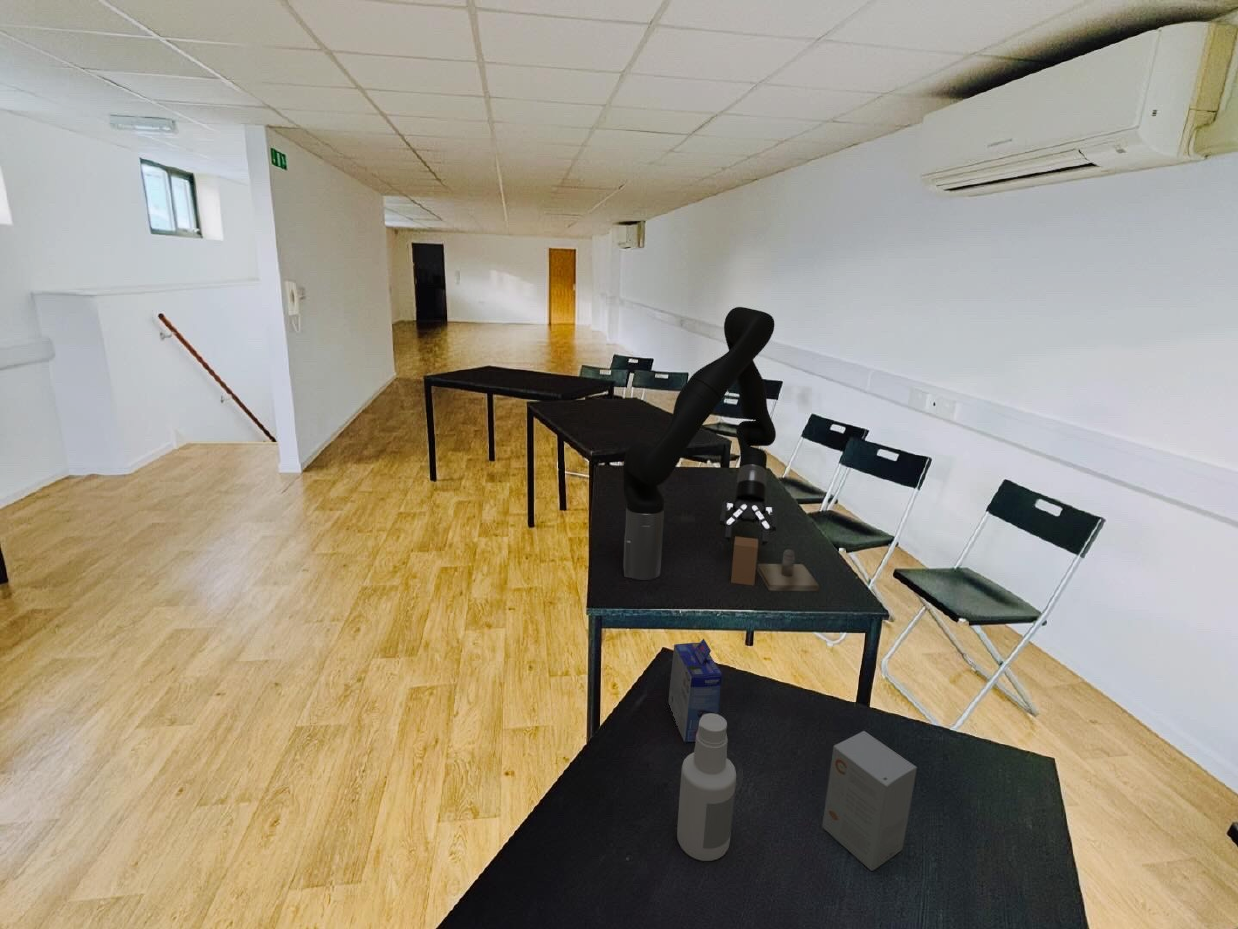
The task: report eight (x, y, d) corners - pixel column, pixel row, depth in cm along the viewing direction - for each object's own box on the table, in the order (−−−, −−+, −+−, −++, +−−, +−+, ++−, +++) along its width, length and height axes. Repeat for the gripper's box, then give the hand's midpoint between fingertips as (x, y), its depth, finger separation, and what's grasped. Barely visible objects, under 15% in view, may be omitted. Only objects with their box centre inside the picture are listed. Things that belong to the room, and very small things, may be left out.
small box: (903, 851, 82) (919, 767, 78) (871, 873, 78) (887, 786, 75) (851, 808, 88) (864, 729, 85) (820, 827, 85) (832, 745, 81)
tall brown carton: (730, 582, 155) (734, 544, 153) (732, 573, 161) (735, 536, 158) (754, 585, 154) (757, 547, 152) (754, 575, 160) (758, 539, 157)
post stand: (769, 590, 152) (772, 559, 150) (756, 569, 164) (759, 540, 161) (818, 591, 153) (822, 560, 150) (802, 569, 164) (805, 540, 162)
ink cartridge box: (718, 741, 100) (725, 661, 97) (684, 745, 99) (690, 664, 95) (697, 702, 110) (703, 628, 106) (667, 706, 109) (672, 630, 105)
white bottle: (729, 867, 79) (741, 745, 74) (674, 857, 80) (683, 736, 75) (729, 823, 85) (741, 708, 80) (679, 815, 86) (687, 701, 81)
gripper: (724, 476, 165) (717, 533, 157) (780, 481, 162) (776, 539, 154) (723, 489, 171) (717, 545, 163) (777, 494, 168) (774, 551, 160)
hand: (746, 542), depth 159 cm, fingers open, 8 cm apart
